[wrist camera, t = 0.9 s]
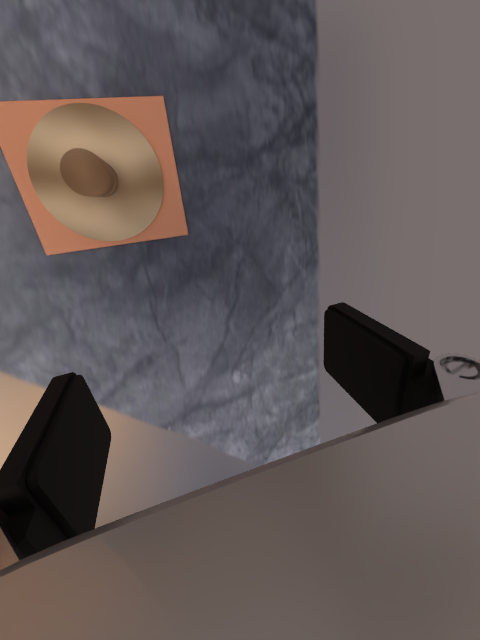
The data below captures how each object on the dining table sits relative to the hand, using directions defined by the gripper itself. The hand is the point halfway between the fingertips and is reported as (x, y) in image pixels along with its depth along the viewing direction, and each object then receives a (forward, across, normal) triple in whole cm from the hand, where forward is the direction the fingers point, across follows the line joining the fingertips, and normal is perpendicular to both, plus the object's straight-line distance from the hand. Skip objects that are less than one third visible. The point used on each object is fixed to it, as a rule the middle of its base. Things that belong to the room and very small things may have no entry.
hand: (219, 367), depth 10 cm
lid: (+22, +5, -8) cm, 24 cm away
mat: (+23, +5, -8) cm, 25 cm away
